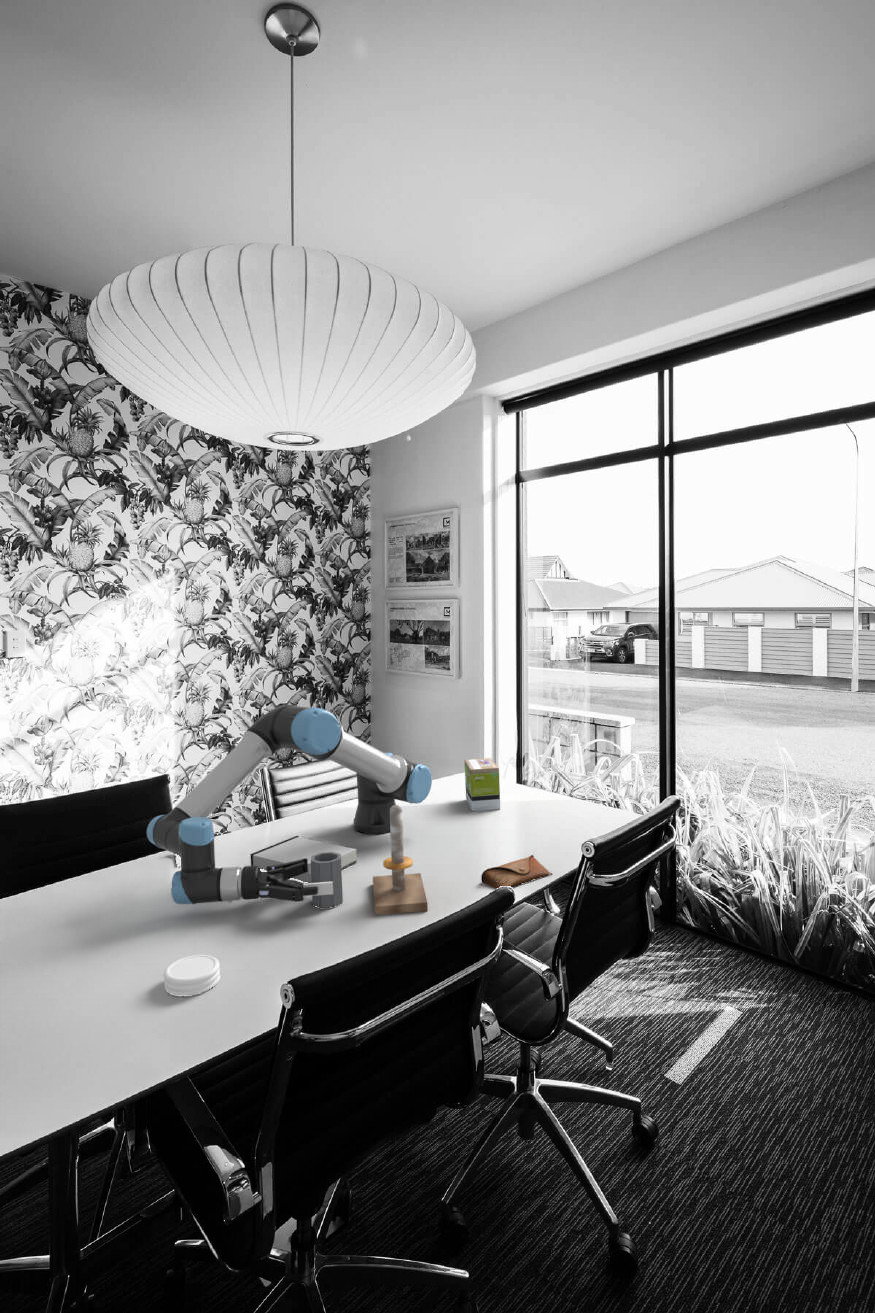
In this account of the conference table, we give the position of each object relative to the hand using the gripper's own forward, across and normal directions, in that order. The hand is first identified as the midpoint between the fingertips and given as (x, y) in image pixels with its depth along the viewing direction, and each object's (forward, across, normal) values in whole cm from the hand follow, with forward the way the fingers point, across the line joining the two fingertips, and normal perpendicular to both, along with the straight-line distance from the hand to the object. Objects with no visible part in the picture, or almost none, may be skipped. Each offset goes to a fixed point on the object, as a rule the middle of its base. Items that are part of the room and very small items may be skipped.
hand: (334, 876), depth 170 cm
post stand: (+15, 0, -6) cm, 16 cm away
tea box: (+48, -73, -7) cm, 88 cm away
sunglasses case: (+46, -6, -7) cm, 47 cm away
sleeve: (-2, 0, -6) cm, 7 cm away
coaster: (-26, +32, -7) cm, 42 cm away
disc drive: (-9, -25, -7) cm, 27 cm away
